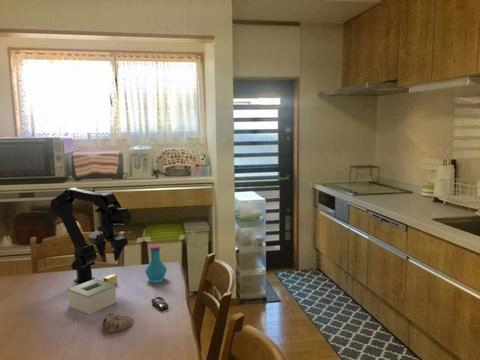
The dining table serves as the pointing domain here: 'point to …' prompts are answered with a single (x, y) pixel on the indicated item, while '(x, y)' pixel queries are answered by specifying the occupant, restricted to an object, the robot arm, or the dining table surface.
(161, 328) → the dining table surface
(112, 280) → the wooden block
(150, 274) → the perfume bottle
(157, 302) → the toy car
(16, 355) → the dining table surface
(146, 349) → the dining table surface
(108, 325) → the rock
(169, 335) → the dining table surface
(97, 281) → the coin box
